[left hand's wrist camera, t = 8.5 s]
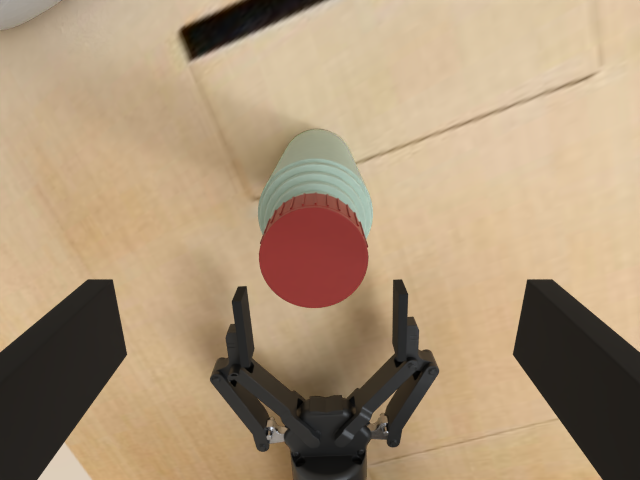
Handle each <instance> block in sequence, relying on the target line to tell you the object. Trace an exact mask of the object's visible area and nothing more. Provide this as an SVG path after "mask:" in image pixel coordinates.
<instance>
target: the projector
mask: <svg viewBox="0 0 640 480" xmlns="http://www.w3.org/2000/svg"><path fill="white" fill-rule="evenodd" d="M60 1H61V0H0V30H6V29H10V28H13V27H16V26H18V25H21V24H23V23H25V22H27V21H29V20H31V19H33V18H35V17H36V16H38V15H40V14H41V13H43V12H45V11H46V10H48V9H50V8H51V7H53V6H54V5H56V4H57V3H59V2H60Z"/></svg>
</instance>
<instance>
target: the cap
mask: <svg viewBox="0 0 640 480" xmlns="http://www.w3.org/2000/svg"><path fill="white" fill-rule="evenodd" d="M260 244H261V246H260V251H259V263H260V269H261V272H262V275H263V277H264V279H265V281H266V283H267V284H268V286H269V287H270V288H271V289H272V290H273V291H274V292H275V293H276V294H277V295H278V296H279V297H281V298H282V299H284V300H285V301H287V302H289V303H292V304H294V305H297V306H301V307H306V308H321V307H327V306H331V305H334V304H336V303H339V302H341V301H342V300H344V299H346V298H347V297H348V296H350V295H351V294H352V293H353V292H354V291H355V290H356V289H357V288H358V286H359V285H360V284H361V282H362V280H363V278H364V276H365V273H366V270H367V266H368V250H367V247H368V244H367V241H366V238H365V234H364V231H363V227H362V224H361V221H360V222H359V220H358V218H357V216H356V213H355V212H353V211H352V210H351V209H350V207H349V205H348V204H347V205H346V204H345V203H343V202H342V201H340V200H339V198H335V197H332V196H329V195H328V194H326V195H325V194H319V193H317V192H315V193H310V194H305V193H303V195H299V196H296V197H294V196H293V197H292V199H290V200H288V201H286V202H283V203H282V205H281V206H280V207H279V208H278V209H277V210H276V209H275V211H274V214H273V216H272V217H271V219H270V218H269V220H268V223H267V226H266V228H265V231H264V234H263V237H262V239H261V242H260Z"/></svg>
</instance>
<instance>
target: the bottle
mask: <svg viewBox="0 0 640 480" xmlns="http://www.w3.org/2000/svg"><path fill="white" fill-rule="evenodd" d="M315 192H317V193H319V194H325V195H326V194H328V195H329V196H332V197H335V198H339V200H340V201H342V202H343V203H345V204H346V205H347V204H348V205H349V207H350V209H351V210H352V211H353V212H355V213H356V216H357V218H358V220H359V222H360V221H361V224H362V227H363V231H364V234H365V238H366V239H367V237H368V234H369V232H370V229H371V225H372V219H373V208H372V202H371V198H370V195H369V193H368V190H367V188H366V186H365V184H364V181H363V179H362V177H361V175H360V172H359V170H358V168H357V166H356V163H355V161H354V159H353V157H352V154H351V152H350V150H349V148H348V146H347V145H346V143H345V142H344V141H343V140H342V139H341V138H340V137H339V136H337V135H336V134H334V133H332V132H330V131H327V130H322V129H313V130H308V131H305V132H303V133H301V134H299V135H297V136H296V137H295V138H294V139H293V140H292V141H291V142H290V143H289V144H288V146H287V148H286V149H285V151H284V153H283V155H282V157H281V158H280V160H279V162H278V164H277V166H276V168H275V169H274V171H273V173H272V175H271V177H270V178H269V180H268V182H267V184H266V186H265V188H264V190H263V192H262V194H261V197H260V201H259V206H258V220H259V225H260V229H261V232H262V234H264V231H265V228H266V226H267V223H268V220H269V218H270V219H271V217H272V216H273V214H274V211H275V209H276V210H277V209H278V208H279V207H280V206H281V205H282V203H283V202H286V201H288V200H290V199H292V197H293V196H294V197H296V196H299V195H303V193H305V194H310V193H315Z"/></svg>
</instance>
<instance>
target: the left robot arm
mask: <svg viewBox="0 0 640 480" xmlns="http://www.w3.org/2000/svg"><path fill="white" fill-rule="evenodd" d="M126 355H127V352H126V346H125V341H124V336H123V331H122V326H121V320H120V315H119V310H118V305H117V300H116V294H115V289H114V284H113V280H87V281H85V282H84V283H83V284H82V285H81V286H79V287H78V288H77V289H76V290H75V291H73V292H72V293H71V294H70V295H69V296H67V297H66V298H65V299H64V300H63V301H61V302H60V303H59V304H58V305H57V306H55V307H54V308H53V309H52V310H51V311H49V312H48V313H47V314H46V315H45V316H43V317H42V318H41V319H40V320H39V321H37V322H36V323H35V324H34V325H33V326H31V327H30V328H29V329H28V330H27V331H25V332H24V333H23V334H22V335H21V336H19V337H18V338H17V339H16V340H15V341H13V342H12V343H11V344H10V345H9V346H7V347H6V348H5V349H4V350H3V351H1V352H0V480H37V479H38V478H39V477H40V475H41V474H42V472H43V471H44V470H45V468H46V467H47V465H48V464H49V463H50V461H51V460H52V458H53V457H54V456H55V454H56V453H57V451H58V450H59V449H60V447H61V446H62V445H63V443H64V442H65V440H66V439H67V438H68V436H69V435H70V433H71V432H72V431H73V429H74V428H75V426H76V425H77V424H78V422H79V421H80V419H81V418H82V417H83V415H84V414H85V413H86V411H87V410H88V408H89V407H90V406H91V404H92V403H93V401H94V400H95V399H96V397H97V396H98V394H99V393H100V392H101V390H102V389H103V387H104V386H105V385H106V383H107V382H108V381H109V379H110V378H111V376H112V375H113V374H114V372H115V371H116V369H117V368H118V367H119V365H120V364H121V362H122V361H123V360H124V358H125V357H126ZM513 355H514V357H515V358H516V360H517V361H518V362H519V364H520V365H521V367H522V368H523V369H524V371H525V372H526V374H527V375H528V376H529V378H530V379H531V381H532V382H533V383H534V385H535V386H536V387H537V389H538V390H539V392H540V393H541V394H542V396H543V397H544V399H545V400H546V401H547V403H548V404H549V406H550V407H551V408H552V410H553V411H554V413H555V414H556V415H557V417H558V418H559V419H560V421H561V422H562V424H563V425H564V426H565V428H566V429H567V431H568V432H569V433H570V435H571V436H572V438H573V439H574V440H575V442H576V443H577V445H578V446H579V447H580V449H581V450H582V452H583V453H584V454H585V456H586V457H587V458H588V460H589V461H590V463H591V464H592V465H593V467H594V468H595V470H596V471H597V472H598V474H599V475H600V477H601V478H602V479H603V480H640V352H639V351H637V350H636V349H635V348H634V347H633V346H631V345H630V344H629V343H628V342H627V341H625V340H624V339H623V338H622V337H621V336H619V335H618V334H617V333H616V332H615V331H613V330H612V329H611V328H610V327H609V326H607V325H606V324H605V323H604V322H603V321H601V320H600V319H599V318H598V317H597V316H595V315H594V314H593V313H592V312H591V311H589V310H588V309H587V308H586V307H585V306H583V305H582V304H581V303H580V302H579V301H577V300H576V299H575V298H574V297H573V296H571V295H570V294H569V293H568V292H567V291H565V290H564V289H563V288H562V287H561V286H559V285H558V284H557V283H556V282H555V281H553V280H527V284H526V289H525V294H524V300H523V305H522V310H521V315H520V320H519V325H518V331H517V336H516V341H515V346H514V351H513Z"/></svg>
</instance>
